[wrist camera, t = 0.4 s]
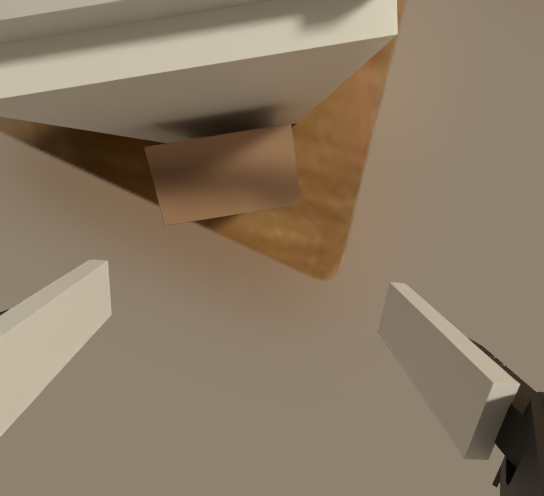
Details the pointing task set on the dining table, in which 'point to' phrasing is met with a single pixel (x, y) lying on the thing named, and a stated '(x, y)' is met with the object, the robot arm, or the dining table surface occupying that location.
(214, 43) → the upright white panel
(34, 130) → the dining table surface
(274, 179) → the brown rectangular block
